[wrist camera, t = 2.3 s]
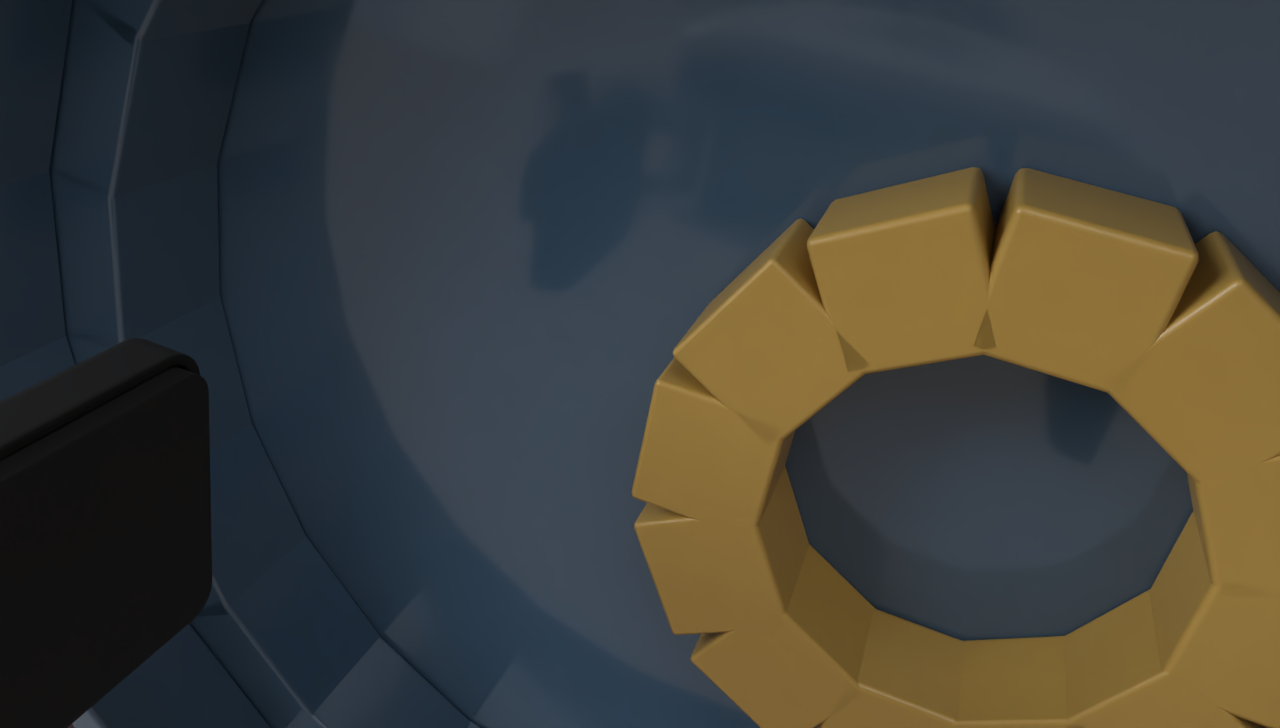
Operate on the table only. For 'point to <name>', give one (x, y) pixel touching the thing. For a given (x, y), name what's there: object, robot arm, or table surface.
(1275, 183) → the bowl
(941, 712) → the ring
